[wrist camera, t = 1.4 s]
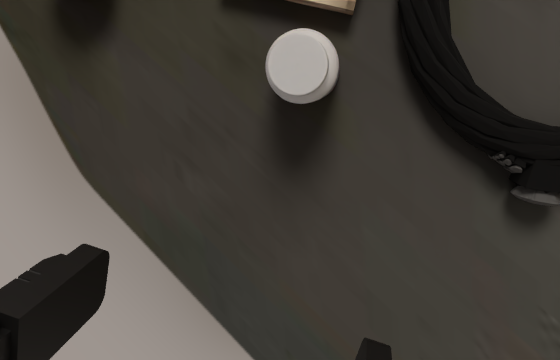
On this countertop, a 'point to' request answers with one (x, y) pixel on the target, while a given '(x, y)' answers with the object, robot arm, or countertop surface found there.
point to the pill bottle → (302, 66)
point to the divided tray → (330, 5)
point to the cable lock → (478, 105)
